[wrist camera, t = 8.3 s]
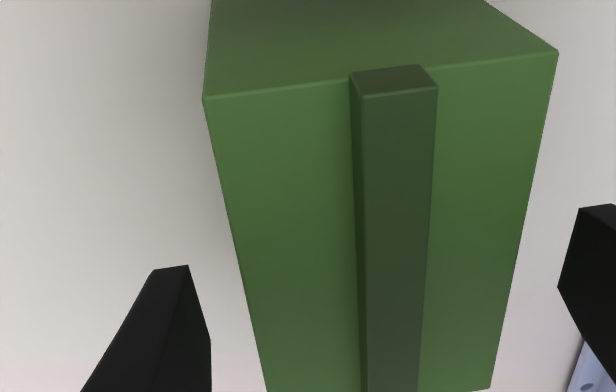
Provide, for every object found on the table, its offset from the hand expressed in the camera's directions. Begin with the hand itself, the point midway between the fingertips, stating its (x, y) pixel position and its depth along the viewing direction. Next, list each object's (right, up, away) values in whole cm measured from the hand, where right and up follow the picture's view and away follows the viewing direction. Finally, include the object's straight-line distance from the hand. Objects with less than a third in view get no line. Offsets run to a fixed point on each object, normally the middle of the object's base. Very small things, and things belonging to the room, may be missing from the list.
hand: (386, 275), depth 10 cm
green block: (-1, +3, +4) cm, 5 cm away
